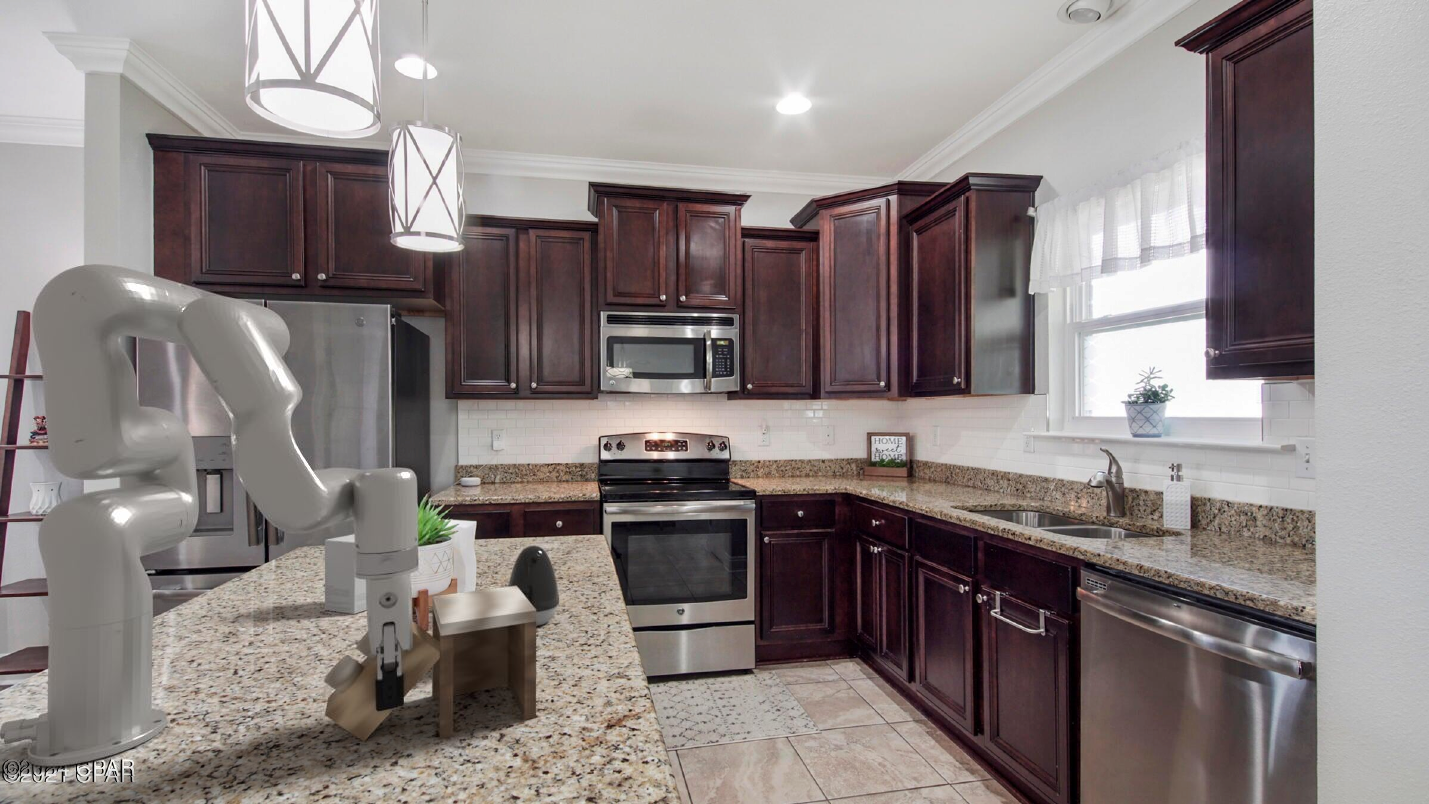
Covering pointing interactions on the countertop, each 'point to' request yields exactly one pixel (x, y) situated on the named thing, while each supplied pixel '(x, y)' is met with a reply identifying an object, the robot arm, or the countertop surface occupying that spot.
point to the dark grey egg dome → (536, 582)
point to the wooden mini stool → (484, 648)
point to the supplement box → (343, 577)
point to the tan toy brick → (357, 682)
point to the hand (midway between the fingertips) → (389, 697)
